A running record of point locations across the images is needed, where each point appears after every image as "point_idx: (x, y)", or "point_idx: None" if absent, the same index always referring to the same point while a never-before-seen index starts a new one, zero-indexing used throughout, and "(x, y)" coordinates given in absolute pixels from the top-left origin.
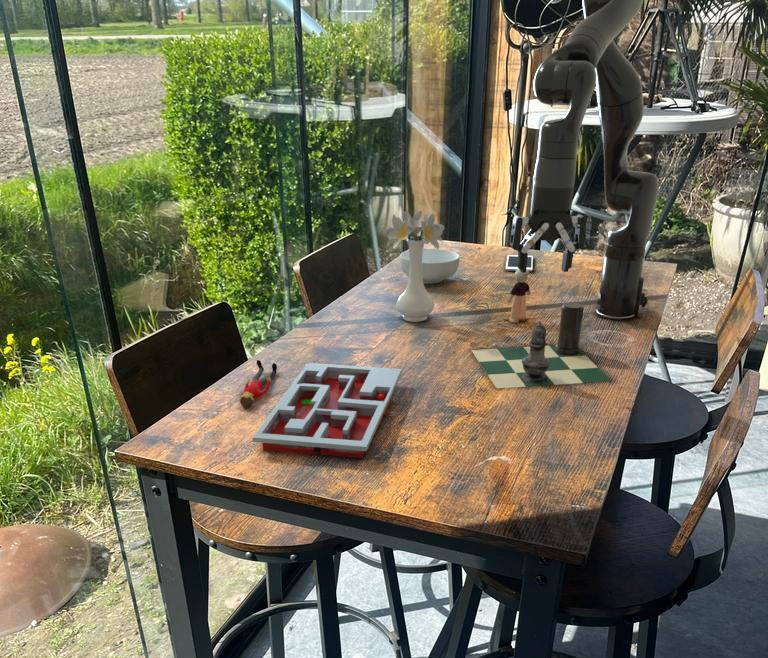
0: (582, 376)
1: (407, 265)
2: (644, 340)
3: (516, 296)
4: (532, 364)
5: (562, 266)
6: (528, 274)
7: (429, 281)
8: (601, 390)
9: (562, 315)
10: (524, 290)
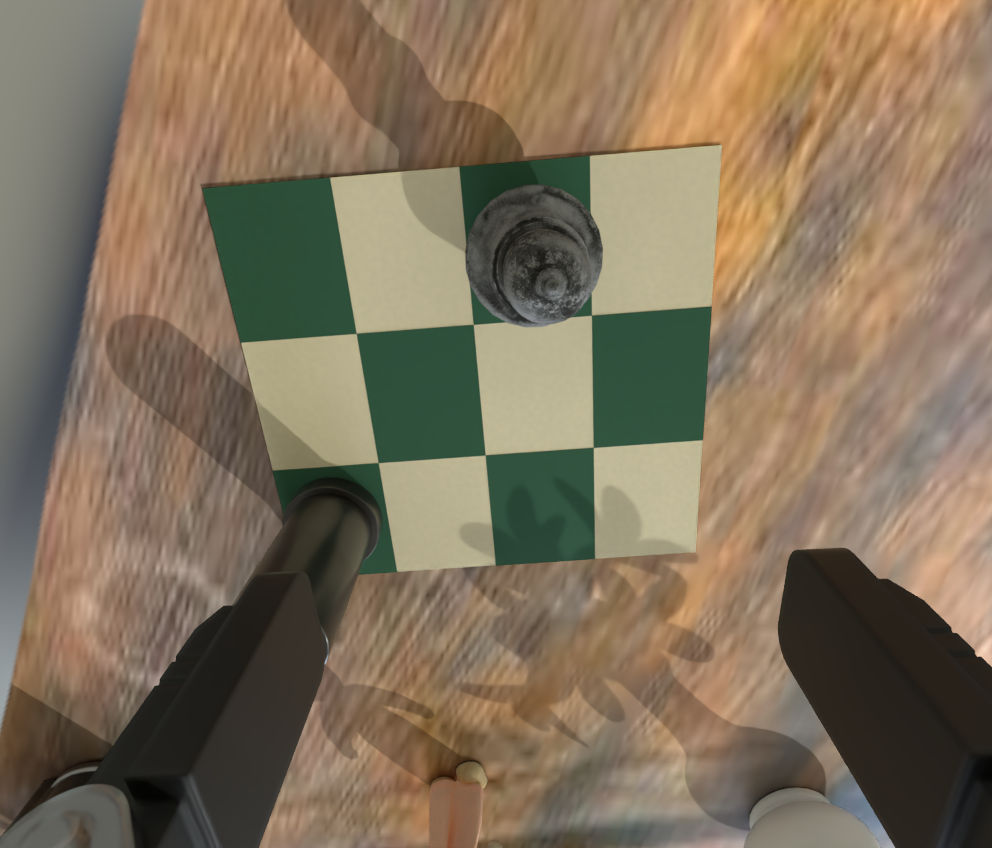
0: (321, 250)
1: None
2: (32, 596)
3: None
4: (565, 206)
5: (309, 672)
6: None
7: None
8: (261, 85)
9: (336, 606)
10: None
